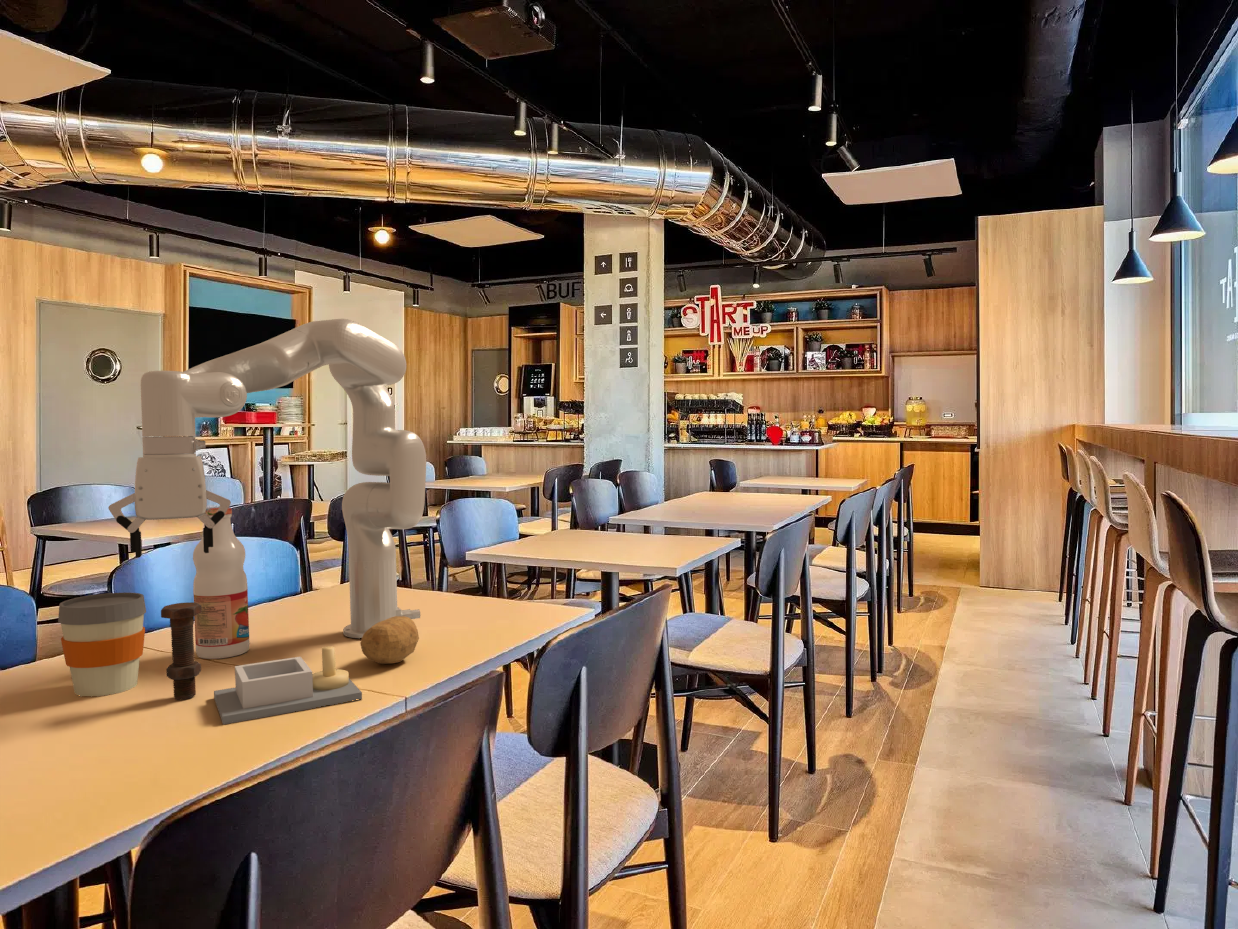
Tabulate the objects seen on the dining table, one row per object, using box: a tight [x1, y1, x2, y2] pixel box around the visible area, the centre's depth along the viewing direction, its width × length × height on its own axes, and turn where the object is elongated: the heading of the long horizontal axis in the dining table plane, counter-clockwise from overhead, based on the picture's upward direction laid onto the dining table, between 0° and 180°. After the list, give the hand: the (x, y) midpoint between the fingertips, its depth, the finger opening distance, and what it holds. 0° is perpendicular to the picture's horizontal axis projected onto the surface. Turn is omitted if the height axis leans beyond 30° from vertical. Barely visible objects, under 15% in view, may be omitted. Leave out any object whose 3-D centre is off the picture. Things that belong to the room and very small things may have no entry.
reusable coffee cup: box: [57, 592, 147, 698], centre depth 139 cm, size 13×12×15 cm
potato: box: [359, 616, 420, 665], centre depth 153 cm, size 10×14×8 cm
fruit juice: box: [192, 507, 251, 660], centre depth 160 cm, size 9×9×28 cm
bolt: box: [160, 601, 202, 701], centre depth 134 cm, size 6×5×15 cm
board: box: [213, 646, 363, 725], centre depth 133 cm, size 20×14×7 cm
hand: (173, 554), depth 134 cm, fingers open, 9 cm apart
